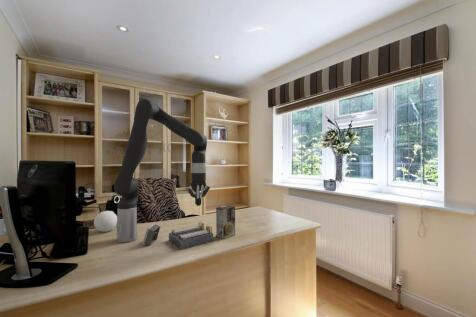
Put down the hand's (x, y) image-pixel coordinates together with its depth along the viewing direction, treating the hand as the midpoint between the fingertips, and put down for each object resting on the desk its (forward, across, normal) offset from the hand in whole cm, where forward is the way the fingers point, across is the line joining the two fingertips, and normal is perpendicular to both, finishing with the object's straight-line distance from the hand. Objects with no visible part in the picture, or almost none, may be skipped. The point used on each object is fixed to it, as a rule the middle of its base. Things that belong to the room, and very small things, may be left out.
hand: (198, 205), depth 118 cm
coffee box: (+19, +17, 0) cm, 26 cm away
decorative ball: (+20, -35, +50) cm, 64 cm away
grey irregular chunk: (+20, -19, +15) cm, 31 cm away
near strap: (+15, -2, 0) cm, 15 cm away
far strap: (+15, -2, +9) cm, 18 cm away
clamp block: (+19, -2, +4) cm, 20 cm away
